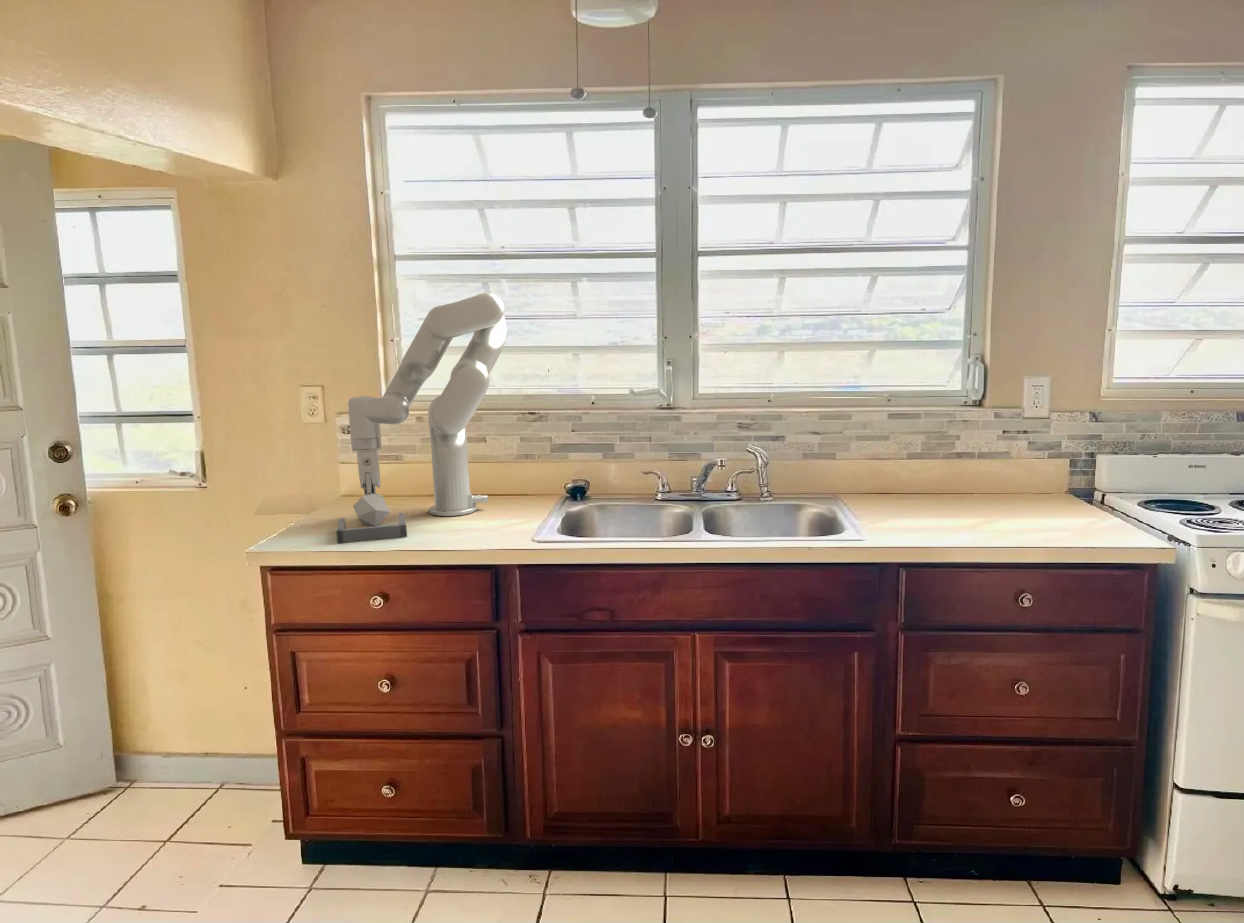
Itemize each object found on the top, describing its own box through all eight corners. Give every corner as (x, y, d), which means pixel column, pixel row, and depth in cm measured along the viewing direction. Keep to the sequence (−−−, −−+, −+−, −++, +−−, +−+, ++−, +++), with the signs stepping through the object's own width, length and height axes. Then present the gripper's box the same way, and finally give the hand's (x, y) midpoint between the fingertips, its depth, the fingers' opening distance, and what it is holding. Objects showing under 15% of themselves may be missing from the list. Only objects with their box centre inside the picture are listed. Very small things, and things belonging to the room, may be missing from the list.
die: (397, 524, 217) (389, 491, 221) (382, 515, 209) (373, 481, 213) (369, 536, 218) (361, 503, 221) (352, 527, 210) (344, 493, 213)
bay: (405, 524, 215) (404, 512, 214) (407, 536, 202) (406, 524, 202) (339, 530, 210) (338, 518, 210) (337, 543, 198) (336, 531, 198)
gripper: (380, 447, 212) (386, 517, 215) (381, 439, 226) (386, 505, 230) (349, 449, 210) (355, 520, 213) (352, 440, 224) (357, 507, 228)
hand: (371, 512), depth 222 cm, fingers closed
